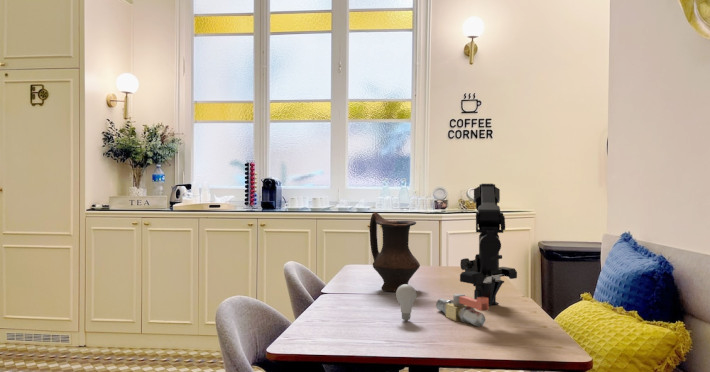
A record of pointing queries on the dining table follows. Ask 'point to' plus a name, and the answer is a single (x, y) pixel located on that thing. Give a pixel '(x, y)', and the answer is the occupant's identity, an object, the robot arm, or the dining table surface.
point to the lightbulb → (406, 300)
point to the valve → (460, 312)
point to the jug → (392, 252)
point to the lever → (471, 302)
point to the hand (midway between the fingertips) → (488, 304)
